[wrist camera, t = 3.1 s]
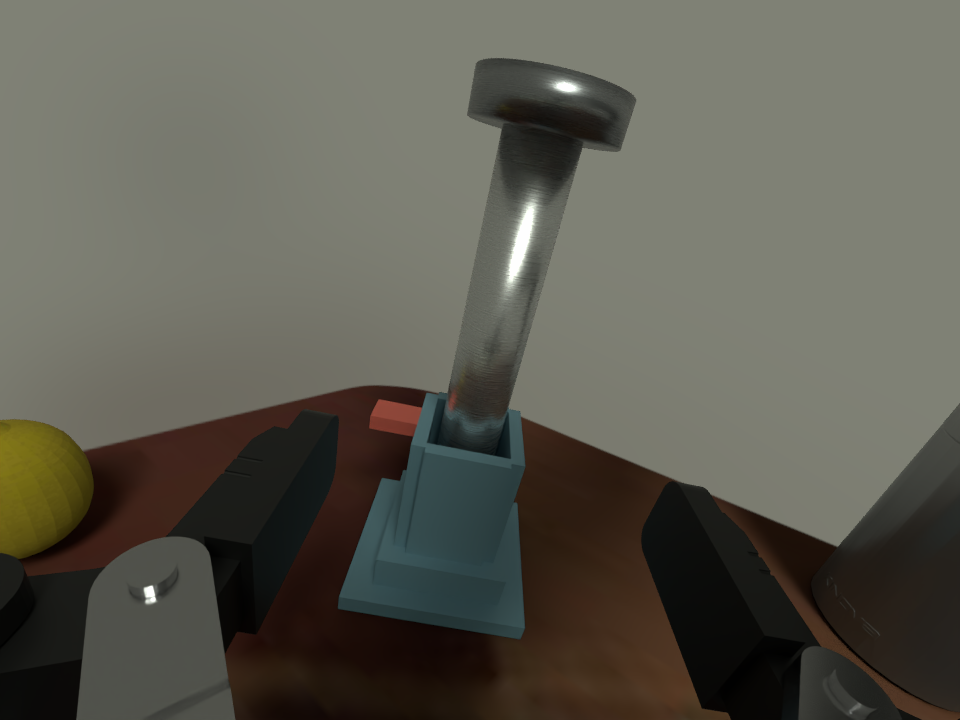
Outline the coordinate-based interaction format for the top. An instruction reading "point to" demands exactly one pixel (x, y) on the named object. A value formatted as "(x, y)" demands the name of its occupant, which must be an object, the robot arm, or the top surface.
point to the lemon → (40, 486)
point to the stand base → (443, 530)
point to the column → (520, 225)
